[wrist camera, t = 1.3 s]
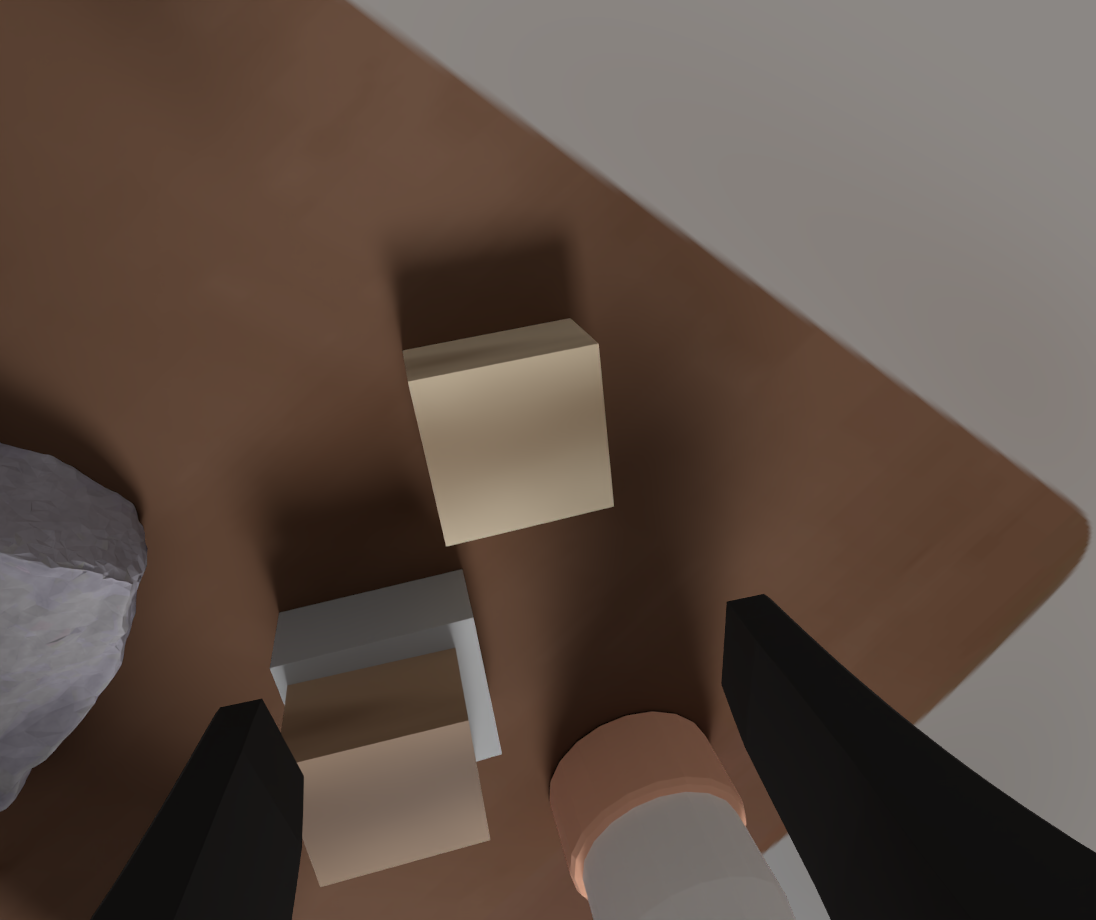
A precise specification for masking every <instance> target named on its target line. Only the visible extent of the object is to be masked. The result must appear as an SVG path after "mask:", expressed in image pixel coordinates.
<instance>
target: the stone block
mask: <svg viewBox="0 0 1096 920" xmlns="http://www.w3.org/2000/svg"><path fill="white" fill-rule="evenodd" d="M146 566H147V546H146V544H145V533H144V529H143V526H142V525H141V524H140V522H139V521H138V516H137V511H136V509H135V507H134V505H133V504H132V503H131V502H129V501H128V500H126V499H125V498H123V497H122V496H121V495H119V494H118V493H116V492H114V491H111V490H109V489H107V488H105V487H103V486H101V485H100V484H98V483H97V482H95V481H93V480H92V479H90V478H89V477H87V476H85V475H84V474H82V473H81V472H80V471H78V470H77V469H75V468H74V467H73V466H70V465H68V464H65V463H63V462H62V461H60V460H58V459H57V458H55V457H53V456H51V455H48V454H41V453H36V452H33V451H30V450H25V449H21V448H17V447H13V446H10V445H6V444H2V443H0V811H3V810H5V809H7V807H8V806H9V805H10V804H11V803H12V802H13V801H14V800H15V799H16V797H17V796H18V794H19V792H20V791H21V789H22V788H23V786H24V784H25V782H26V779H27V777H28V775H29V774H30V771H31V769H32V768H33V767H35V766H37V765H39V764H40V763H42V762H43V761H45V760H46V759H47V758H48V757H49V756H50V755H51V754H52V753H53V752H54V751H55V750H56V748H57V747H58V746H59V745H60V744H61V742H62V741H63V740H64V739H65V738H66V737H67V736H68V735H69V734H70V733H71V732H72V731H73V730H74V729H75V728H76V727H77V726H78V724H79V723H80V722H81V721H82V720H83V719H84V717H85V716H86V714H87V713H88V712H89V710H90V709H91V707H92V706H93V705H94V704H95V702H96V700H97V698H98V696H99V695H100V694H101V692H102V691H103V690H104V689H105V688H106V687H107V685H108V684H109V683H110V681H111V680H112V679H113V677H114V676H115V674H116V673H117V671H118V669H119V668H120V666H121V665H122V660H123V656H124V647H125V643H126V639H127V637H128V635H129V632H130V629H131V625H132V621H133V618H134V615H135V613H136V593H137V589H138V586H139V582H140V580H141V578H142V576H143V573H144V571H145V569H146Z"/></svg>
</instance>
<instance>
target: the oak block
mask: <svg viewBox="0 0 1096 920" xmlns="http://www.w3.org/2000/svg"><path fill="white" fill-rule="evenodd" d="M402 352H403V357H404V363H405V368H406V374H407V379H408V384H409V388H410V393H411V397H412V401H413V406H414V410H415V414H416V419H417V423H418V427H419V431H420V436H421V440H422V444H423V449H424V453H425V457H426V462H427V466H428V470H429V475H430V479H431V483H432V487H433V492H434V496H435V500H436V505H437V509H438V513H439V518H440V522H441V526H442V531H443V535H444V539H445V543H446V547H447V546H451V545H455V544H459V543H463V542H468V541H472V540H476V539H480V538H484V537H489V536H493V535H497V534H501V533H505V532H509V531H514V530H518V529H522V528H526V527H530V526H535V525H539V524H543V523H547V522H551V521H555V520H560V519H564V518H568V517H572V516H576V515H581V514H585V513H589V512H593V511H597V510H601V509H606V508H610V507H614V501H613V491H612V480H611V470H610V459H609V449H608V438H607V427H606V417H605V406H604V396H603V385H602V375H601V364H600V354H599V344H598V343H597V342H596V341H595V340H594V339H593V338H592V337H591V336H590V335H589V334H587V333H586V332H585V331H584V330H583V329H582V328H581V327H580V326H579V325H577V324H576V323H575V322H574V321H573V320H572V319H571V318H568V319H563V320H558V321H553V322H547V323H542V324H537V325H532V326H527V327H522V328H516V329H511V330H506V331H501V332H496V333H490V334H485V335H480V336H475V337H470V338H465V339H459V340H454V341H449V342H444V343H439V344H434V345H428V346H423V347H418V348H413V349H408V350H403V351H402Z"/></svg>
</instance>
